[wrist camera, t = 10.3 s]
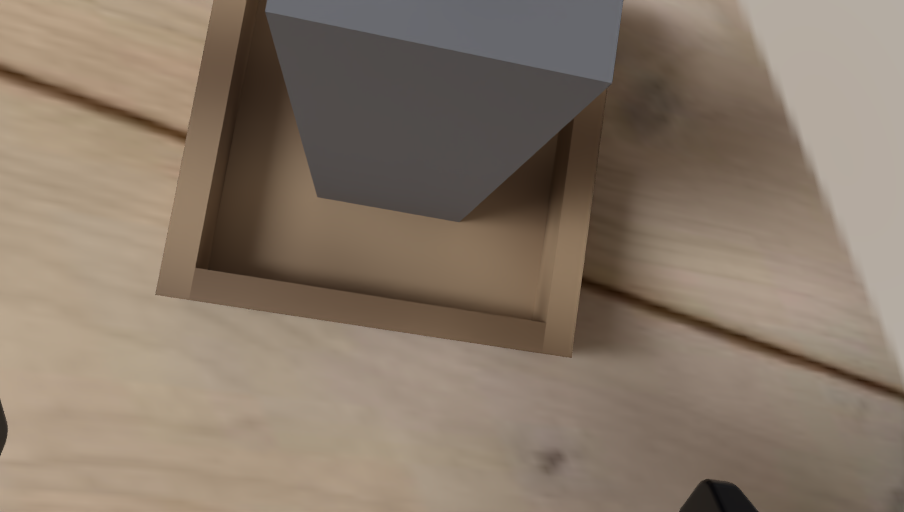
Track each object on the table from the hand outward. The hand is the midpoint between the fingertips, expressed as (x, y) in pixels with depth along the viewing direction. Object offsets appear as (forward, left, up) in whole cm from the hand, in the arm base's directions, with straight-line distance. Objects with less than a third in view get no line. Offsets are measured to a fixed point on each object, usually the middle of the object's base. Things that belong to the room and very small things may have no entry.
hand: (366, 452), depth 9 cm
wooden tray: (+6, -4, -11) cm, 13 cm away
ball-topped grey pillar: (+6, -4, -10) cm, 12 cm away
